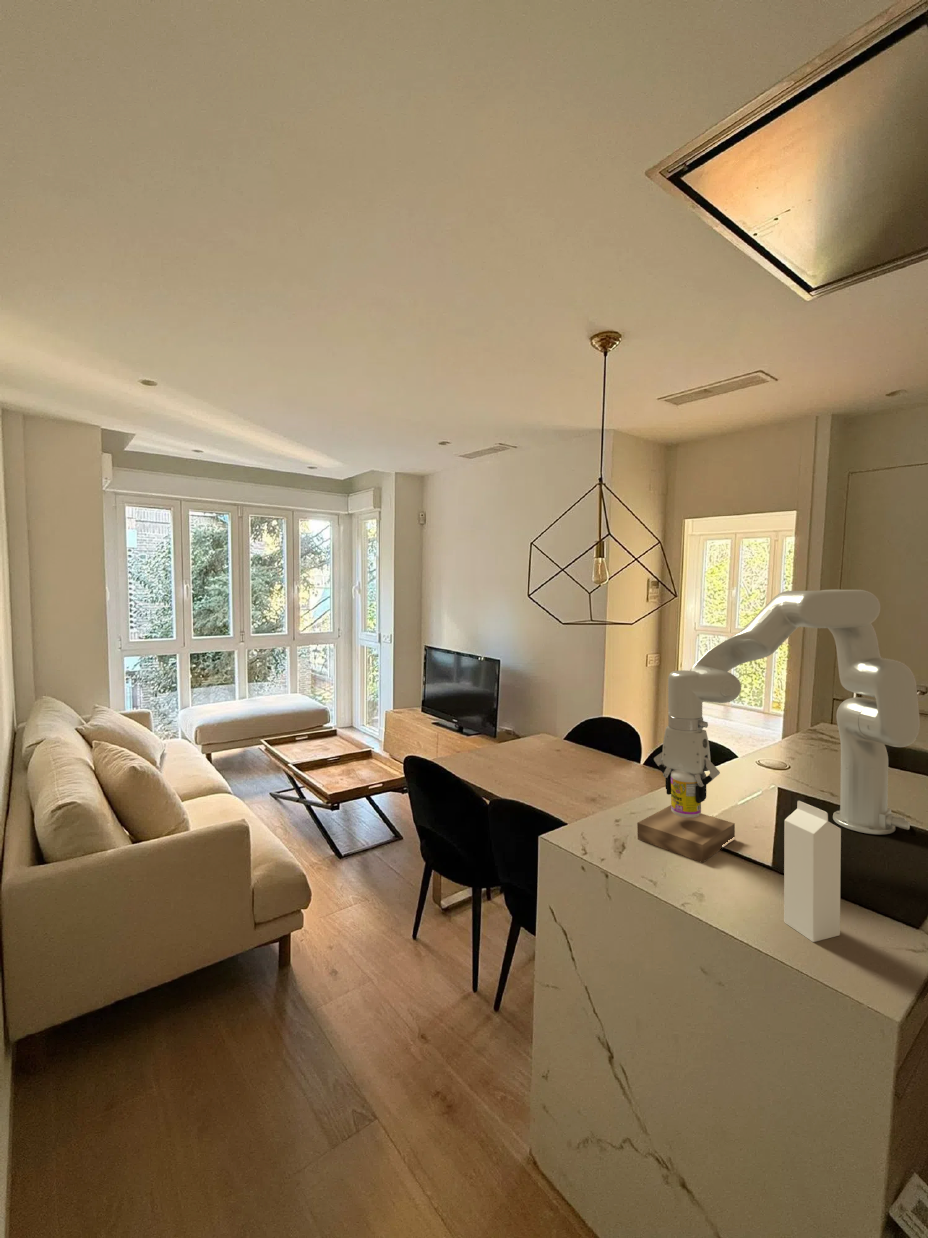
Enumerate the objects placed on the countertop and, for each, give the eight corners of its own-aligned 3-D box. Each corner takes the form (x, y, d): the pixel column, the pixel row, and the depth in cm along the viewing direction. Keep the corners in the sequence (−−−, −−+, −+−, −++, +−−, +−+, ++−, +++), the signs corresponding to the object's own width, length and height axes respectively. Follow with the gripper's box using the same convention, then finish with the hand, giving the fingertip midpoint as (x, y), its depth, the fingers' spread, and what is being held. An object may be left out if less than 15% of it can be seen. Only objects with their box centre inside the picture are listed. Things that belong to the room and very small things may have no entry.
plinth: (734, 839, 132) (734, 823, 131) (702, 862, 121) (702, 845, 121) (671, 819, 144) (671, 804, 144) (637, 839, 133) (637, 822, 133)
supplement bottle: (666, 808, 135) (665, 757, 135) (692, 807, 136) (692, 755, 135) (679, 820, 129) (678, 765, 128) (706, 818, 129) (705, 764, 128)
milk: (813, 943, 93) (813, 815, 92) (783, 922, 99) (783, 802, 98) (840, 935, 95) (841, 810, 94) (809, 915, 101) (810, 797, 100)
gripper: (729, 726, 127) (729, 803, 128) (659, 715, 140) (660, 784, 141) (714, 732, 122) (714, 812, 123) (643, 720, 135) (644, 791, 136)
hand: (685, 796), depth 132 cm, fingers closed on supplement bottle, 6 cm apart
